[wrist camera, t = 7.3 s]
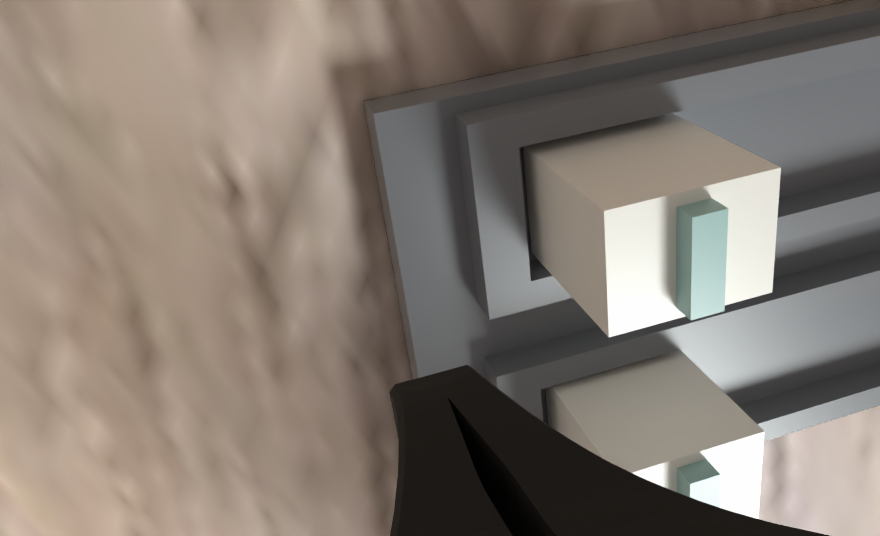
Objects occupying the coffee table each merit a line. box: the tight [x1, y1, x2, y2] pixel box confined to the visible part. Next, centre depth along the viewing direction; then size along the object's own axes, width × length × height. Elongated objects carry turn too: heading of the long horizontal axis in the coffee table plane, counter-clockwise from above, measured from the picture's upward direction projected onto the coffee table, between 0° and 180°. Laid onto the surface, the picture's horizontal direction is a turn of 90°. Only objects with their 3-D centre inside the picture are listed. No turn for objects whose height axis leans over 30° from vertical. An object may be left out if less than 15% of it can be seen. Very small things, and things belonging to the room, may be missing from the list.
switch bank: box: [363, 0, 880, 442], centre depth 24 cm, size 13×20×2 cm, turn 97°
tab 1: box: [523, 113, 781, 337], centre depth 19 cm, size 3×4×5 cm
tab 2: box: [545, 350, 765, 519], centre depth 22 cm, size 3×4×5 cm
